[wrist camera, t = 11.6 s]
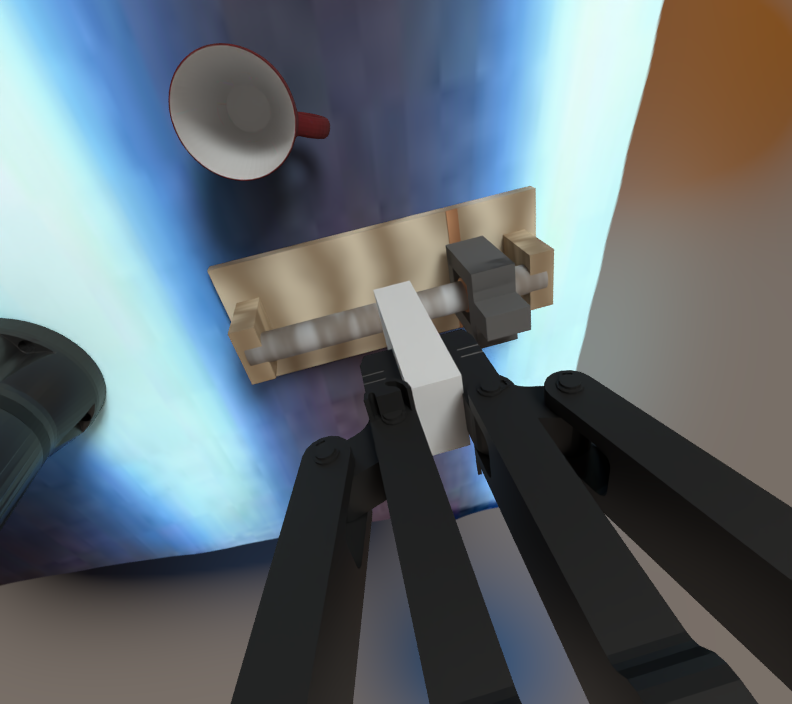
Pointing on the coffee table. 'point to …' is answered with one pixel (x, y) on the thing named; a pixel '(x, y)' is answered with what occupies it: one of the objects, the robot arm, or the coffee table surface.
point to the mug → (237, 112)
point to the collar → (488, 292)
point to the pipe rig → (370, 282)
